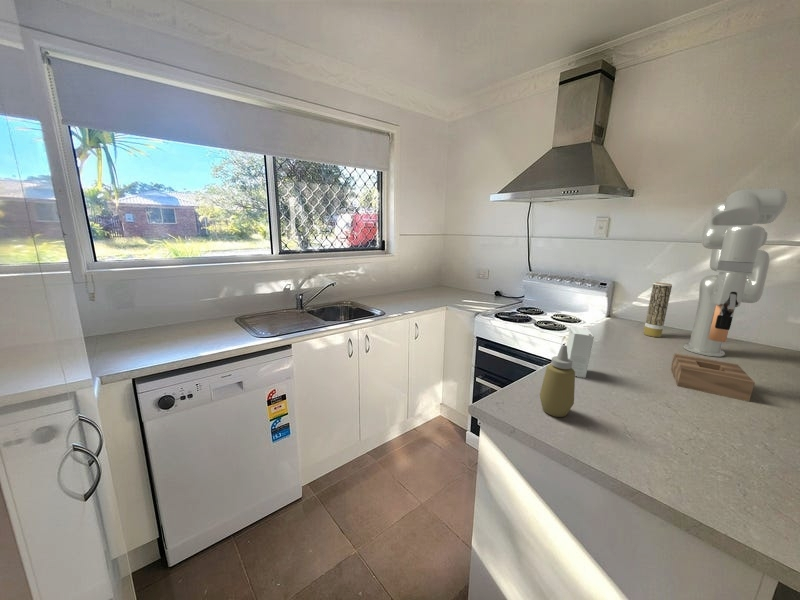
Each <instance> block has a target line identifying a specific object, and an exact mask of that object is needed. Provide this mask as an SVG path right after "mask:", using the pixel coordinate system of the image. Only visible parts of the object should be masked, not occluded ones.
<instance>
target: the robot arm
mask: <svg viewBox="0 0 800 600" xmlns="http://www.w3.org/2000/svg"><path fill="white" fill-rule="evenodd" d="M787 202H788V195H787V192H786V191H785V189H782V188H779V187H774V188H771V187H770V188H769V187H768V188H747V189H746V188H745V189H739V190H736V191H733V192H732V193H730V194H729V195H728V196H727V198H726V199H725V201H721V202H718V203H716V204H715V205H714V206H713V207H712V210H711V217H710V218H709V219H708V220H707V221H706V223H705V225H704V226H703V231H702V235H701V245H702V246H703V247H704V248H705V249H709V250H711V254H710V259H709V269H711V270H712V271H714V272H718V274H716V275H715V274H714V275H713V274H711V275H707V276H704V277H703V278H702V279H701V281H700V283H699V293H698V302H697V303H698V304H697V307H696V308H697V309H696V313H695V316H694V320H693V325H692V330H691V335H690V338H689V343H684V344H683V348H684V350H686V351H688V352H692V353H694V354H698V355H702V356H709V357H716V358H717V357H718V358H720V357H725V355H726V353H725V351H724V350H721V348H722V344H723V342H718V341H713V340H710V339H708V337H709V332H710V328H711V324H712V320H713V316H714V312H715V308H716V305H720V304H721V309H720V314H719V315H718V316H717V320H716V324H715V328H718V329H725V330H729V331H730V329H731V326H732V322H733V318H734V314H735V313H734V312H735V310H736V308H738V307H740V305H741V304H742V303H744V304H745V303H746V304H754V303H755V304H756V303H757V302H759V301H760V299H762V296H763V293H764V288H765V283H766V279H767V275H768V270H769V265H770V255H769V253H768V251H766V250H763V249H761V248H762V247H763V246H765V244H766V242H767V240H768V232H767V231H766V229H765V228H764V227H763V226H760V225H767V224H771V223H773V222H775V221H776V219H778V217H779V216H780V215H781V214H782V212H783V211H784V209H785V208H786V205H787ZM724 303H725V304H728V306H725V305H724ZM724 308H725V309H724Z"/></svg>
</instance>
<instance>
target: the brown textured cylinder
mask: <svg viewBox="0 0 800 600" xmlns="http://www.w3.org/2000/svg"><path fill="white" fill-rule="evenodd" d="M672 286H673V284H672V283H667V282H653V284H652V288H651V293H650V299H649V303H648V304H649V305H648V308H647V314H646V319H645V323H644V328H643V329H644V330H643V334H644V335H645V336H648V337H652V338H661V337H662V334H663V329H664V327H665V325H664V324H665V321H666V315H667V311H668V306H669V302H670V296H671V292H672V288H673V287H672Z"/></svg>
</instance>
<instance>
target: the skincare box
mask: <svg viewBox="0 0 800 600" xmlns="http://www.w3.org/2000/svg"><path fill="white" fill-rule="evenodd" d="M568 331H569V332H568V337H567V342H566V346H567V354H568V359H570V360H572V369H573V370H574V371H575V377H576V376H577V378H582V377H583V378H582V379H585V378H586V377H587V373H588V367H589V363H590V357H591V352H592V349H593V343H594V337H595V336H594V334H592V332H591V330H589V328H585V327H578V326H571V325H570V326H569V330H568Z"/></svg>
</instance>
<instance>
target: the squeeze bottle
mask: <svg viewBox="0 0 800 600" xmlns="http://www.w3.org/2000/svg"><path fill="white" fill-rule="evenodd" d="M575 383H576V376H575V371H574V370H573V369H572V360H570V359H568V354H567V344H566V345H565V344H562V345H561V346H560V348H559V351H558V353H557V355H555V356H553V357H552V358H551V363H550V364H548V365H547V366H546V368H545V372H544V376H543V380H542V383H541V387H540V392H539V399H540V403H541V408H542V410H543V412H544V413H546V414H547V415H551V416H553V417H557V418H562V417H566V416H567V415H568V414H569V412H570V411H571V408H572V407H573V405H574V404H575V386H576V384H575Z"/></svg>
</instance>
